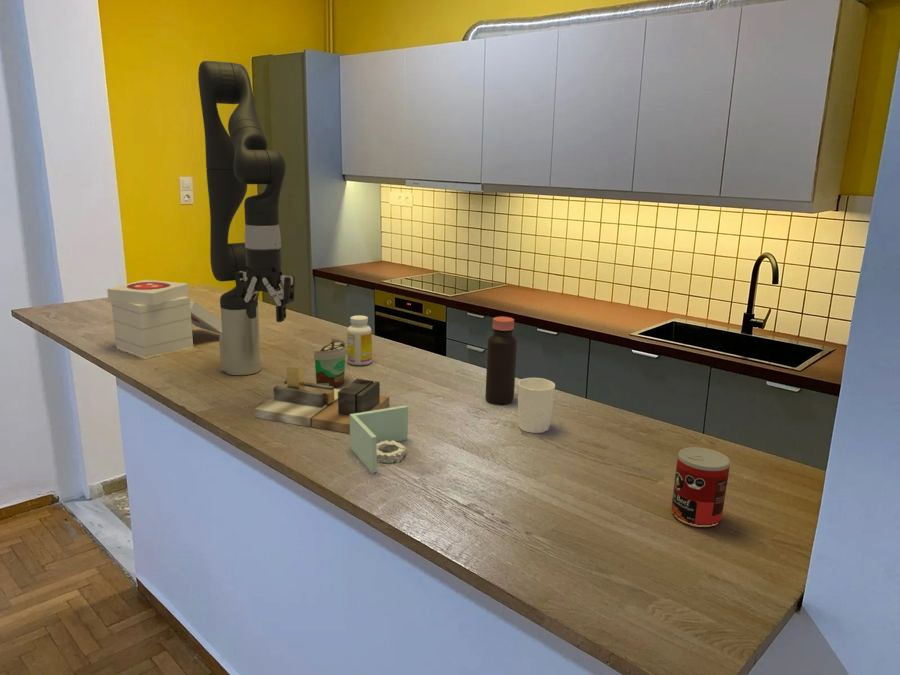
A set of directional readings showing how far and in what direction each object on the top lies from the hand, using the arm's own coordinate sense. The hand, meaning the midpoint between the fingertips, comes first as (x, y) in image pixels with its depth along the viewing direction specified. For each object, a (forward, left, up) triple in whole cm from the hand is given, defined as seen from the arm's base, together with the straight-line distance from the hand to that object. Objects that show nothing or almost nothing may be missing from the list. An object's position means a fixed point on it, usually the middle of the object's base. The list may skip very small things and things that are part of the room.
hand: (266, 319), depth 153 cm
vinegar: (+49, +22, -20) cm, 57 cm away
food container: (+8, +17, -20) cm, 27 cm away
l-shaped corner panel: (+36, -15, -20) cm, 44 cm away
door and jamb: (+14, 0, -20) cm, 24 cm away
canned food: (+93, -18, -20) cm, 97 cm away
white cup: (+60, +9, -20) cm, 64 cm away
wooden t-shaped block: (+10, 0, -17) cm, 20 cm away
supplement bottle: (+6, +35, -20) cm, 41 cm away
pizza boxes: (-52, +29, -20) cm, 62 cm away
